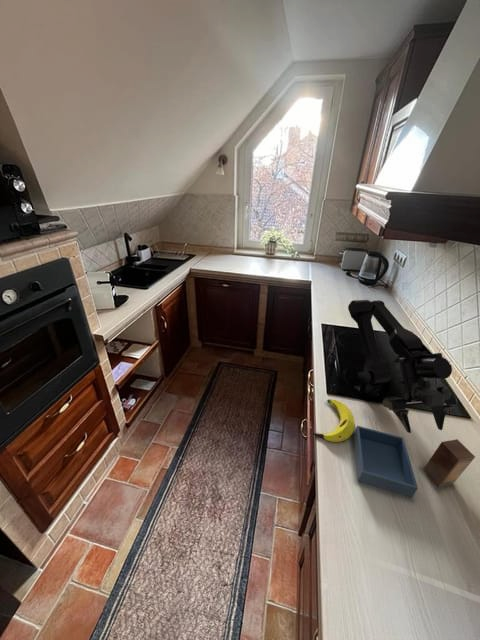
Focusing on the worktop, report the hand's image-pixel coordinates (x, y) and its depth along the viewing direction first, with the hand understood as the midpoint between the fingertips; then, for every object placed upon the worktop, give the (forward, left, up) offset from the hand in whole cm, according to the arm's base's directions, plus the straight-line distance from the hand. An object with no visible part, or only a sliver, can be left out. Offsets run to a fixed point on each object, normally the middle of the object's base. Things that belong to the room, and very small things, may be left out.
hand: (424, 431), depth 74 cm
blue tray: (0, -14, -9) cm, 17 cm away
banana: (-17, -19, -9) cm, 27 cm away
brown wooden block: (+9, -1, -9) cm, 12 cm away
